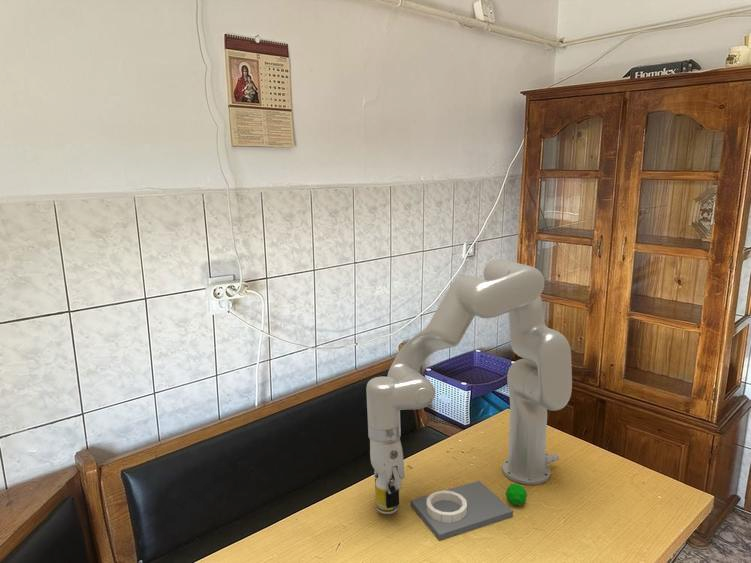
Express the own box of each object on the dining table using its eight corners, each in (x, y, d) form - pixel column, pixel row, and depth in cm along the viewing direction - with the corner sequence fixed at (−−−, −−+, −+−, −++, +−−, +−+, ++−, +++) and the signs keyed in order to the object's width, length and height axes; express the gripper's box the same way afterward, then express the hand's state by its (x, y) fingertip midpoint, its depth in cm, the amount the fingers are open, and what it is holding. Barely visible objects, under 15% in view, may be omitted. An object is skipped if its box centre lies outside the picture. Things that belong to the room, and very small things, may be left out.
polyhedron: (503, 497, 134) (503, 480, 133) (522, 496, 134) (522, 479, 133) (509, 510, 129) (510, 492, 128) (529, 508, 130) (530, 491, 129)
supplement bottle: (396, 515, 126) (395, 478, 124) (374, 513, 127) (372, 476, 125) (400, 501, 131) (399, 465, 129) (378, 499, 132) (377, 464, 130)
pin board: (479, 485, 139) (479, 473, 138) (512, 516, 127) (513, 503, 126) (410, 505, 132) (410, 492, 131) (439, 540, 119) (439, 526, 118)
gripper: (415, 442, 118) (417, 515, 122) (383, 411, 134) (386, 476, 137) (384, 450, 115) (387, 524, 119) (356, 418, 131) (359, 484, 135)
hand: (387, 498), depth 128 cm, fingers closed on supplement bottle, 5 cm apart
